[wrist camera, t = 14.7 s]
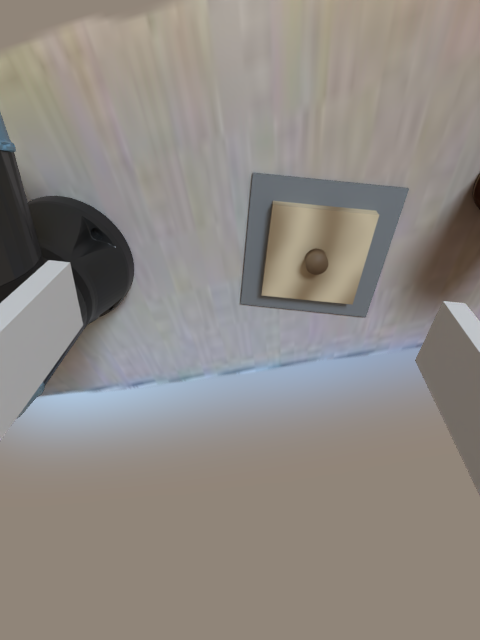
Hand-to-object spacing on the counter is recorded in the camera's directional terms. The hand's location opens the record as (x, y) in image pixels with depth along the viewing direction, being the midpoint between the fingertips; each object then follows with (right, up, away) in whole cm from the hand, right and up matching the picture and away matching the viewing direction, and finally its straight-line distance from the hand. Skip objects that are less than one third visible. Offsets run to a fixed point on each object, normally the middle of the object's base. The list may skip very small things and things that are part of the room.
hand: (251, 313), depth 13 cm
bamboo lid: (+8, +7, +29) cm, 31 cm away
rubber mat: (+8, +8, +29) cm, 31 cm away
